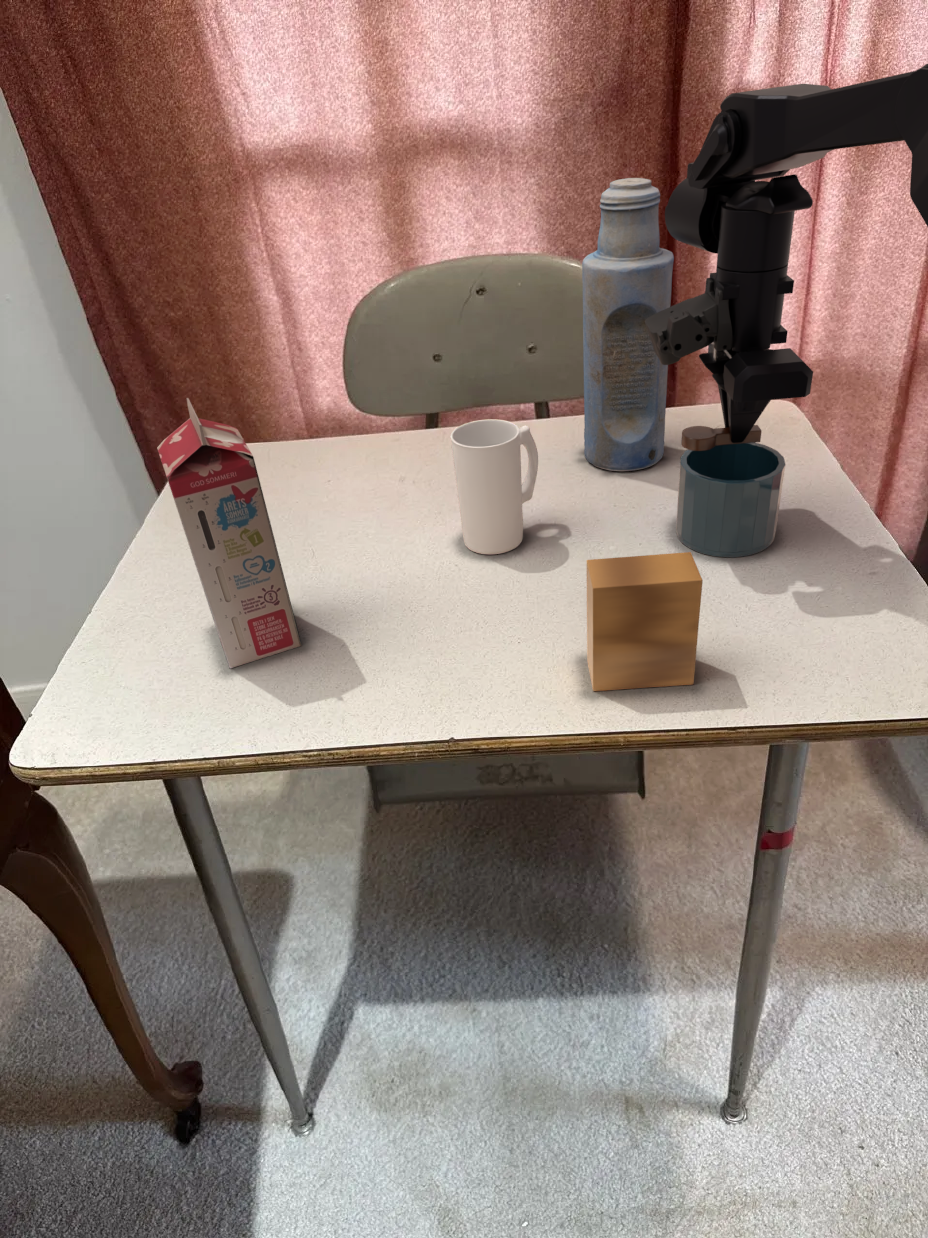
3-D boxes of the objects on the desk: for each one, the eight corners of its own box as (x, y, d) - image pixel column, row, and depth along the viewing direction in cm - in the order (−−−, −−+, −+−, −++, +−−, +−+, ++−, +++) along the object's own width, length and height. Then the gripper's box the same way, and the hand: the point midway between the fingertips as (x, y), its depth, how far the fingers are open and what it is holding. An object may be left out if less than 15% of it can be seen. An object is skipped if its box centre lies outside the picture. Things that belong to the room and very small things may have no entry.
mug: (489, 564, 84) (480, 453, 77) (448, 541, 89) (436, 434, 82) (561, 526, 89) (558, 420, 82) (519, 506, 93) (513, 403, 87)
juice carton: (284, 609, 81) (226, 388, 68) (301, 645, 76) (242, 414, 63) (216, 630, 79) (144, 407, 66) (229, 668, 74) (153, 435, 61)
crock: (784, 518, 86) (794, 446, 82) (761, 565, 80) (771, 489, 75) (691, 503, 90) (697, 434, 86) (663, 547, 84) (667, 474, 79)
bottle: (586, 475, 98) (584, 193, 81) (581, 440, 106) (579, 177, 89) (668, 471, 97) (685, 184, 80) (658, 436, 105) (671, 168, 88)
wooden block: (683, 654, 70) (691, 551, 64) (693, 684, 67) (703, 579, 61) (587, 660, 70) (586, 559, 65) (592, 691, 67) (592, 588, 61)
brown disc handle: (753, 432, 80) (755, 420, 80) (763, 446, 78) (764, 434, 77) (678, 438, 81) (678, 427, 80) (685, 452, 78) (685, 440, 78)
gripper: (636, 248, 78) (632, 408, 87) (677, 303, 63) (667, 490, 72) (758, 237, 78) (741, 399, 87) (828, 289, 62) (799, 479, 71)
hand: (734, 438), depth 79 cm, fingers closed on brown disc handle, 1 cm apart
